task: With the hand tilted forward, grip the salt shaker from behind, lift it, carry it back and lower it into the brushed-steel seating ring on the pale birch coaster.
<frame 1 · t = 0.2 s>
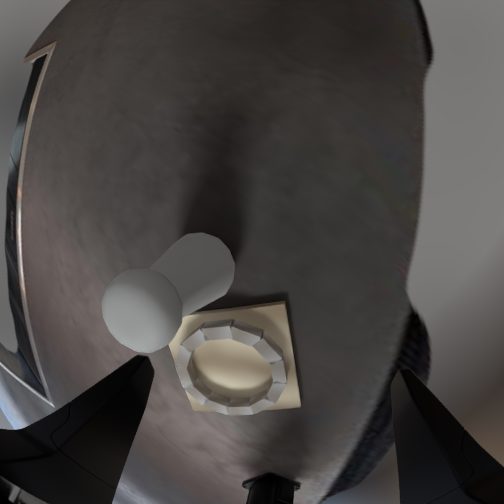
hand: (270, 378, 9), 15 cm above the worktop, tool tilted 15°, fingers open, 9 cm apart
salt shaker: (208, 261, 24), on the worktop
ring stand: (233, 363, 26), on the worktop
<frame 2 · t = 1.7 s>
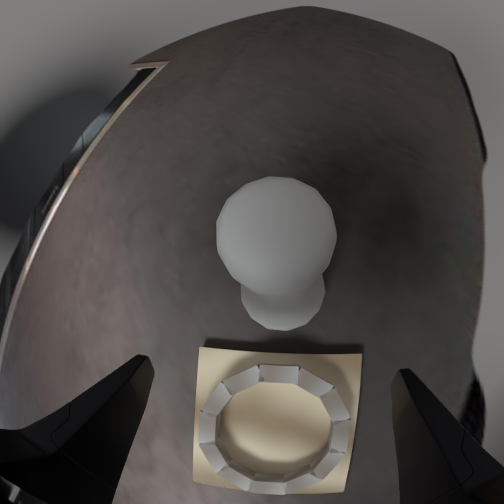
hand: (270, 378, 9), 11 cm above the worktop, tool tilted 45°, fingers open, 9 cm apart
salt shaker: (283, 295, 21), on the worktop
ring stand: (274, 427, 17), on the worktop
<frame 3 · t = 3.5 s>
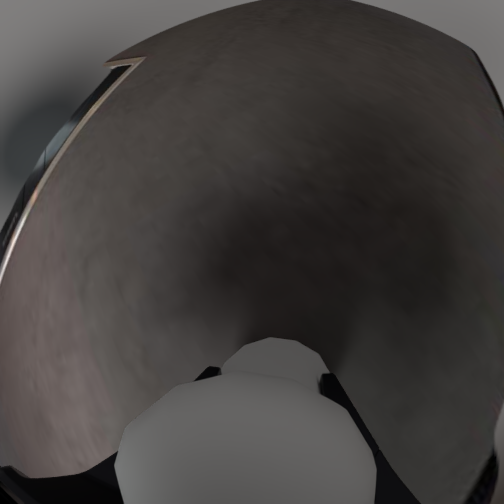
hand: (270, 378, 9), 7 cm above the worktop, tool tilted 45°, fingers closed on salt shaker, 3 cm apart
salt shaker: (276, 386, 14), on the worktop, touching gripper
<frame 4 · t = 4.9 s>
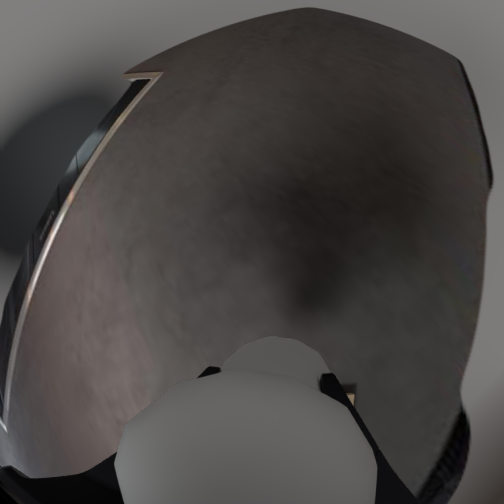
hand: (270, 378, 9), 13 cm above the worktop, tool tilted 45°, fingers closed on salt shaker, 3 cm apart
salt shaker: (276, 385, 14), point 6 cm above the worktop, touching gripper
when the fingers open (9 cm above the worktop, at t = 6.6 s): salt shaker drops 1 cm, resting on ring stand.
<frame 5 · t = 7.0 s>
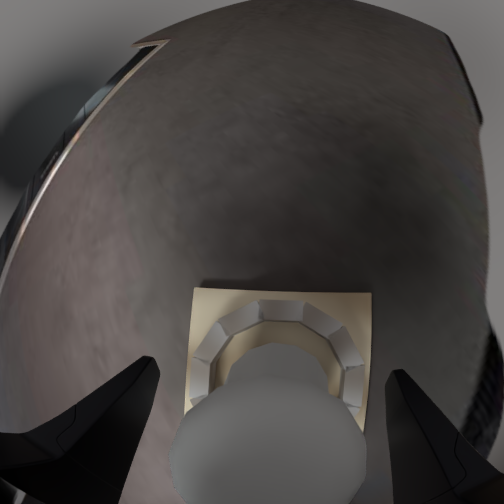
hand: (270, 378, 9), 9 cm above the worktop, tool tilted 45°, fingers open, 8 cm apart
salt shaker: (276, 386, 16), point 1 cm above the worktop, touching ring stand
ring stand: (277, 381, 17), on the worktop
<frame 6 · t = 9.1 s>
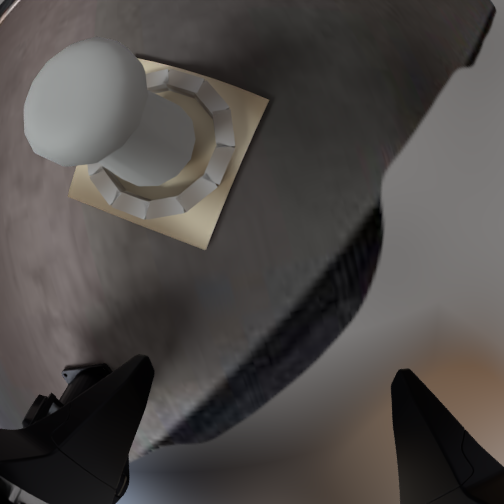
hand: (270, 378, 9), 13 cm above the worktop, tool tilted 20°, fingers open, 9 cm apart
salt shaker: (158, 147, 18), point 1 cm above the worktop, touching ring stand
ring stand: (161, 145, 18), on the worktop
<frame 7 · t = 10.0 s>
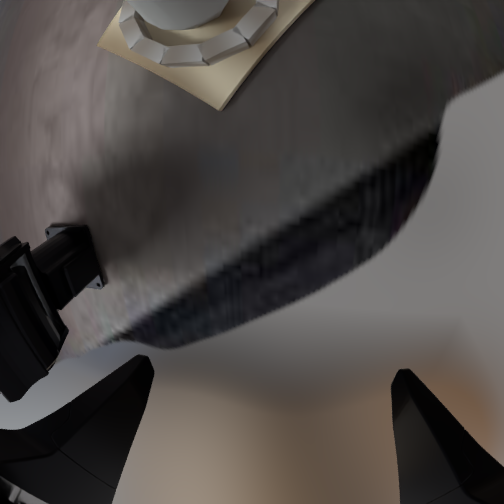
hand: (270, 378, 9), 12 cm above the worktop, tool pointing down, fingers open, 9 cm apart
salt shaker: (197, 5, 12), point 1 cm above the worktop, touching ring stand
ring stand: (202, 6, 12), on the worktop
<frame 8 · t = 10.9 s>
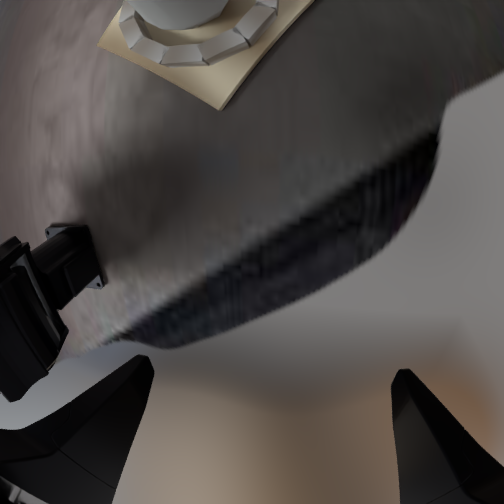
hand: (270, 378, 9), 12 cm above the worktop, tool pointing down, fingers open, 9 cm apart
salt shaker: (197, 5, 12), point 1 cm above the worktop, touching ring stand
ring stand: (202, 5, 12), on the worktop
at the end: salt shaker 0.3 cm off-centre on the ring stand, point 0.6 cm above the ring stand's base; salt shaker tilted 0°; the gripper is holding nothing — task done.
